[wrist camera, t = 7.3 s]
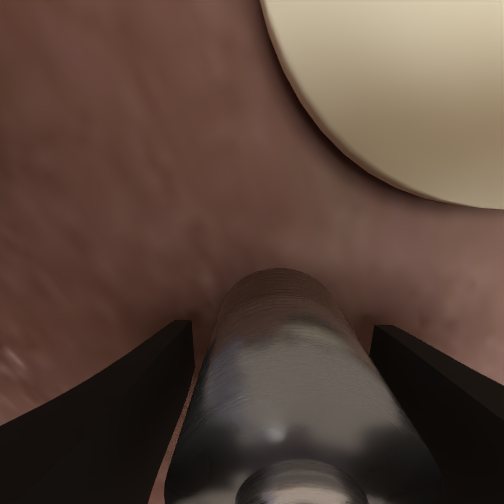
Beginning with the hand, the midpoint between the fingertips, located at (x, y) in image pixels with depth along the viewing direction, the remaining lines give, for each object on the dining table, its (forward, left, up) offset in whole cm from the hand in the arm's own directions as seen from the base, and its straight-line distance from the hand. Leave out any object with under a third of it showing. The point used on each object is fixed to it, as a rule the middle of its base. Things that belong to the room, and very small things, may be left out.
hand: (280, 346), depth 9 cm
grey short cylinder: (0, 0, -2) cm, 2 cm away
